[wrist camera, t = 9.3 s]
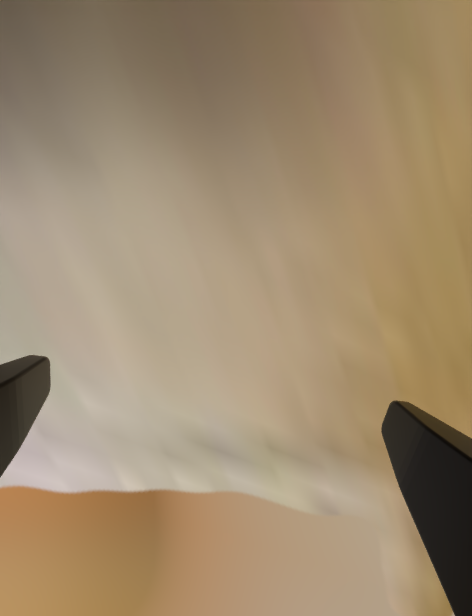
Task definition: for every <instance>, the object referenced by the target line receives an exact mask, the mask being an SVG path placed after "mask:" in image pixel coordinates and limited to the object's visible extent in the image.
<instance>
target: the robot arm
mask: <svg viewBox="0 0 472 616" xmlns="http://www.w3.org/2000/svg"><path fill="white" fill-rule="evenodd" d="M50 385H51V384H50V361H49V359H48V358H47V357H45V356H37V355H29V356H26V357H23V358H20V359H16V360H13V361H10V362H7V363H4V364H1V365H0V477H1V476H2V474H3V473H4V471H5V470H6V468H7V467H8V465H9V464H10V462H11V461H12V459H13V458H14V456H15V455H16V453H17V452H18V450H19V449H20V447H21V445H22V443H23V442H24V440H25V438H26V436H27V434H28V432H29V430H30V429H31V427H32V425H33V423H34V421H35V419H36V417H37V415H38V413H39V412H40V410H41V408H42V406H43V404H44V402H45V400H46V398H47V396H48V394H49V391H50ZM382 436H383V439H384V442H385V445H386V448H387V451H388V454H389V457H390V460H391V464H392V467H393V470H394V473H395V476H396V479H397V482H398V485H399V487H400V490H401V492H402V495H403V497H404V499H405V502H406V504H407V506H408V509H409V511H410V513H411V516H412V518H413V520H414V522H415V525H416V527H417V529H418V532H419V534H420V536H421V539H422V541H423V543H424V545H425V548H426V550H427V552H428V555H429V557H430V559H431V562H432V564H433V566H434V568H435V571H436V573H437V575H438V578H439V580H440V582H441V585H442V587H443V589H444V592H445V594H446V596H447V598H448V601H449V603H450V605H451V608H452V610H453V612H454V615H455V616H472V439H471V438H470V437H468V436H466V435H465V434H463V433H461V432H459V431H458V430H456V429H454V428H452V427H451V426H449V425H447V424H445V423H444V422H442V421H440V420H439V419H437V418H435V417H433V416H432V415H430V414H428V413H426V412H425V411H423V410H421V409H419V408H418V407H416V406H414V405H413V404H411V403H409V402H404V401H392V402H391V403H390V405H389V408H388V410H387V413H386V415H385V418H384V421H383V423H382Z"/></svg>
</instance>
